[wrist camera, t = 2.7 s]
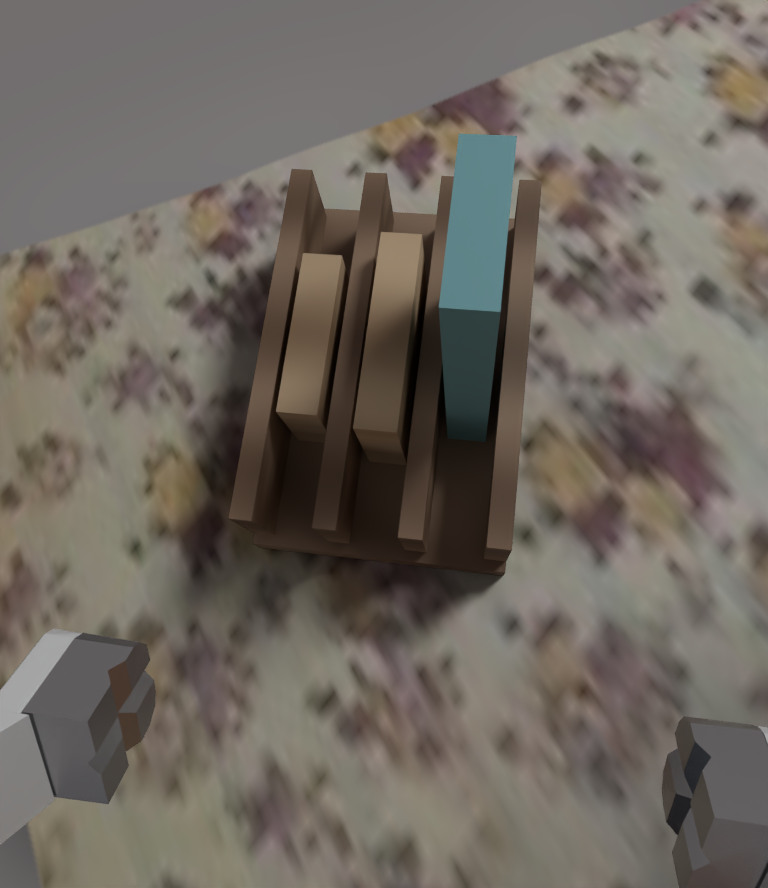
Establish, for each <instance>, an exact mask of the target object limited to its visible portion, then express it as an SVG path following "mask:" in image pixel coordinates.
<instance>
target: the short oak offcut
mask: <svg viewBox="0 0 768 888" xmlns="http://www.w3.org/2000/svg"><path fill="white" fill-rule="evenodd" d="M426 301H427V282H426V271H425V261H424V251H423V240H422V234H409V233H392V232H381V235H380V242H379V249H378V256H377V263H376V270H375V277H374V284H373V291H372V298H371V306H370V313H369V320H368V327H367V334H366V341H365V348H364V355H363V362H362V369H361V376H360V383H359V390H358V397H357V404H356V411H355V418H354V425H353V429H354V431H355V433H356V435H357V437H358V439H359V441H360V443H361V445H362V448H363V450H364V452H365V454H366V456H367V458H368V460H369V461H370V462H380V463H390V464H400V465H407V457H408V449H409V441H410V432H411V424H412V416H413V408H414V399H415V391H416V383H417V375H418V367H419V358H420V350H421V342H422V334H423V325H424V317H425V309H426Z"/></svg>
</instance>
